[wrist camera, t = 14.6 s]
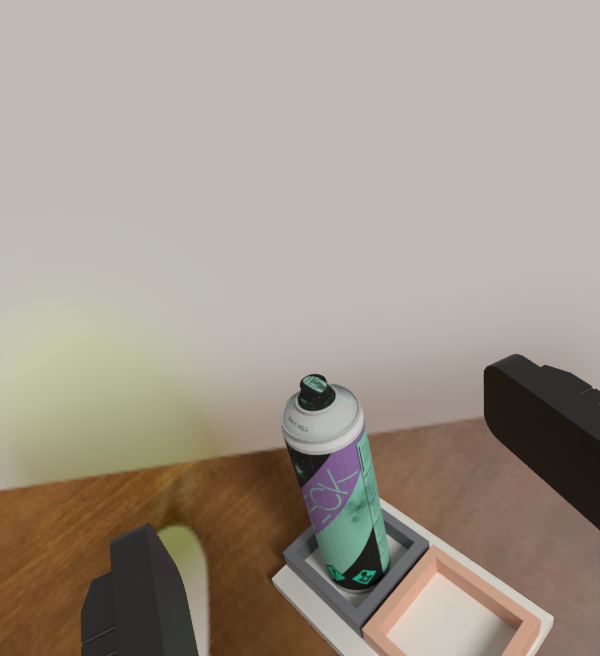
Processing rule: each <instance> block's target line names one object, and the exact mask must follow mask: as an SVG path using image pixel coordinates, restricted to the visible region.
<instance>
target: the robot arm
mask: <svg viewBox="0 0 600 656" xmlns="http://www.w3.org/2000/svg"><path fill="white" fill-rule="evenodd" d="M484 417H485V420H486V423H487V425H488V427H489V429H490V431H491V432H492V433H493V435H494V436H495V437H496V438H497V439H498V440H499V441H500V442H501V443H502V444H504V445H505V446H506V447H507V448H508V449H509V450H510V451H511V452H513V453H514V454H515V455H516V456H517V457H518V458H519V459H520V460H521V461H523V462H524V463H525V464H526V465H527V466H528V467H529V468H530V469H532V470H533V471H534V472H535V473H536V474H537V475H538V476H539V477H541V478H542V479H543V480H544V481H545V482H546V483H547V484H548V485H550V486H551V487H552V488H553V489H554V490H555V491H556V492H557V493H559V494H560V495H561V496H562V497H563V498H564V499H565V500H566V501H568V502H569V503H570V504H571V505H572V506H573V507H574V508H575V509H576V510H578V511H579V512H580V513H581V514H582V515H583V516H584V517H585V518H587V519H588V520H589V521H590V522H591V523H592V524H593V525H594V526H596V527H597V528H598V529H599V530H600V391H599V390H597V389H593V388H592V386H591V385H589V384H588V383H586V382H585V381H583V380H581V379H580V378H578V377H577V376H575V375H573V374H572V373H570V372H566V371H563V370H560V369H557V368H554V367H551V366H547V365H544V366H542V367H539V366H538V365H536V364H535V363H533V362H531V361H530V360H528V359H527V358H525V357H524V356H522V355H519V354H513V355H511V356H509V357H507V358H504V359H502V360H500V361H498V362H496V363H494V364H491V365H489V366H487V367H486V368H485V370H484ZM110 556H111V572H109V573H107V574H105V575H102V576H100V577H98V578H96V579H94V580H92V582H91V585H90V588H89V591H88V594H87V596H86V599H85V602H84V605H83V608H82V610H81V642H82V644H83V647H81V656H199V655H198V650H197V645H196V640H195V635H194V630H193V626H192V620H191V615H190V610H189V605H188V601H187V596H186V592H185V588H184V584H183V581H182V578H181V576H180V573H179V571H178V568H177V567H176V564H175V563H174V561H173V559H172V558H171V556H170V554H169V553H168V551H167V550H166V548H165V546H164V545H163V543H162V541H161V540H160V538H159V536H158V535H157V533H156V532H155V530H154V528H153V527H152V525H151V524H150V523H147V524H145V525H142V526H140V527H138V528H136V529H134V530H132V531H130V532H127V533H125V534H123V535H121V536H119V537H117V538H115V539H113V540H111V543H110Z"/></svg>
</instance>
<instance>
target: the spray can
mask: <svg viewBox="0 0 600 656" xmlns="http://www.w3.org/2000/svg"><path fill="white" fill-rule="evenodd" d="M300 388H301V391H299V392H297V393H296V394H294V395H293V396H292V397H291V398H290V399H289V400H288V401H287V402H286V403H285V405H284V407H283V408H282V411H281V416H280V418H281V424H282V426H281V427H282V433H283V436H284V439H285V442H286V445H287V449H288V452H289V455H290V458H291V461H292V464H293V467H294V470H295V474H296V477H297V480H298V483H299V486H300V489H301V492H302V495H303V499H304V502H305V505H306V508H307V511H308V514H309V517H310V520H311V523H312V527H313V530H314V533H315V536H316V539H317V542H318V545H319V548H320V552H321V555H322V558H323V561H324V564H325V567H326V570H327V573H328V575H329V577H330V579H331V581H332V582H333V584H334V585H335V586H336V587H338V588H339V589H340V590H342V591H344V592H347V593H349V594H355V595H359V594H366V593H370V592H372V591H373V590H374V589H375V588H376V587H377V585H378V584H379V583H380V582H381V581H382V580H383V579H384V577H385V576H386V575H387V574H388V573H389V571H390V565H391V562H390V552H389V547H388V542H387V537H386V531H385V526H384V521H383V515H382V510H381V505H380V500H379V494H378V489H377V484H376V478H375V473H374V468H373V463H372V457H371V452H370V447H369V441H368V436H367V431H366V425H365V420H364V415H363V411H362V408H361V406H360V403H359V400H358V398H357V396H356V395H355V394H354V393H353V392H352V391H351V390H349V389H348V388H345V387H343V386H340V385H335V384H327V381H326V379H325V377H324V376H322V375H319V374H311V375H308V376H306V377H304V378H303V379H302V380H301V382H300Z"/></svg>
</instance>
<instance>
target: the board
mask: <svg viewBox="0 0 600 656" xmlns="http://www.w3.org/2000/svg"><path fill="white" fill-rule="evenodd" d="M379 500H380V505H381V510H382V515H383V521H384V526H385V531H386V537H387V542H388V547H389V552H390V562H391V565H390V571H389V573H388V574H387V575H386V576H385V577H384V579H383V580H382V581H381V582H380V583H379V584H378V585H377V587H376V588H375V589H374V590H373V591H372V592H370V593H366V594H359V595H355V594H349V593H347V592H344V591H342V590H340V589H339V588H338V587H336V586H335V585H334V584H333V582H332V581H331V579H330V577H329V575H328V573H327V570H326V567H325V564H324V561H323V558H322V555H321V552H320V548H319V545H318V542H317V539H316V536H315V533H314V530H313V527H312V524H311V525H310V526H309V527H308V528H307V529H306V530H305V531H304V532H303V533H302V534H301V535H300V536H299V537H298V538H297V539H296V540H295V541H294V542H293V543H292V544H291V545H290V546H289V547H288V548H287V549H286V550H285V551H284V552H283V556H284V558H285V561H286V565H285V566H284V567H283V568H282V569H281V570H280V571H279V572H278V573H277V574H276V575H275V576H274V577H273V578H272V579H271V580H272V582H273V584H274V587H275V588H276V589H277V590H278V591H279V592H280V593H281V594H282V595H283V596H284V597H285V598H286V599H287V600H288V601H289V602H290V603H291V605H292V606H293V607H294V608H295V609H296V610H297V611H298V612H299V613H300V614H301V615H302V616H303V617H304V618H305V619H306V620H307V621H308V623H309V624H310V625H311V626H312V627H313V628H314V629H315V630H316V631H317V632H318V633H319V634H320V635H321V636H322V637H323V638H324V639H325V640H326V642H327V643H328V644H329V645H330V646H331V647H332V648H333V649H334V650H335V651H336V652H337V653H338V654H339V655H340V656H535V654H536V652H537V651H538V649H539V647H540V646H541V644H542V643H543V641H544V639H545V638H546V636H547V634H548V633H549V631H550V629H551V628H552V626H553V620H554V617H553V616H551V615H550V614H548V613H547V612H546V611H544V610H543V609H541V608H540V607H538V606H537V605H535V604H534V603H532V602H531V601H530V600H528V599H527V598H525V597H524V596H522V595H521V594H519V593H518V592H516V591H515V590H514V589H512V588H511V587H509V586H508V585H506V584H505V583H503V582H502V581H500V580H499V579H497V578H496V577H495V576H493V575H492V574H490V573H489V572H487V571H486V570H484V569H483V568H481V567H480V566H479V565H477V564H476V563H474V562H473V561H471V560H470V559H468V558H467V557H465V556H464V555H462V554H461V553H460V552H458V551H457V550H455V549H454V548H452V547H451V546H449V545H448V544H446V543H445V542H444V541H442V540H441V539H439V538H438V537H436V536H435V535H433V534H432V533H430V532H429V531H428V530H426V529H425V528H423V527H422V526H420V525H419V524H417V523H416V522H414V521H413V520H411V519H410V518H409V517H407V516H406V515H404V514H403V513H401V512H400V511H398V510H397V509H395V508H394V507H393V506H391V505H390V504H388V503H387V502H385V501H384V500H382V499H381V498H379Z"/></svg>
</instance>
